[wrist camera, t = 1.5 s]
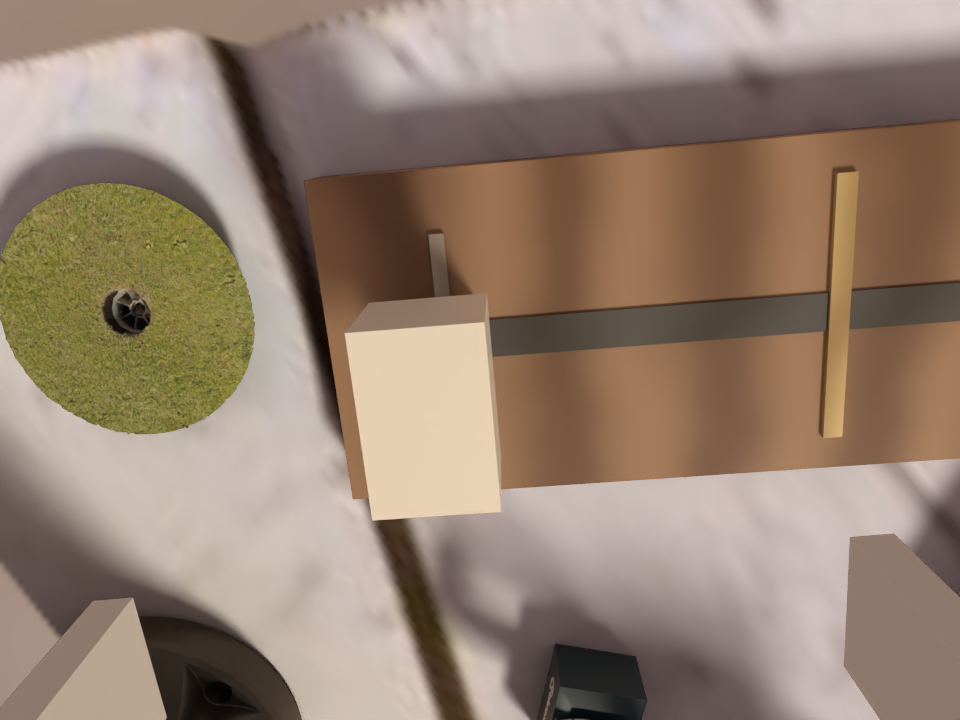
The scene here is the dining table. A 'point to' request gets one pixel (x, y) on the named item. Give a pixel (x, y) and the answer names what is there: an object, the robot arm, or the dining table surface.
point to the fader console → (678, 298)
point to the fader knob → (426, 406)
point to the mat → (125, 308)
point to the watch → (592, 686)
